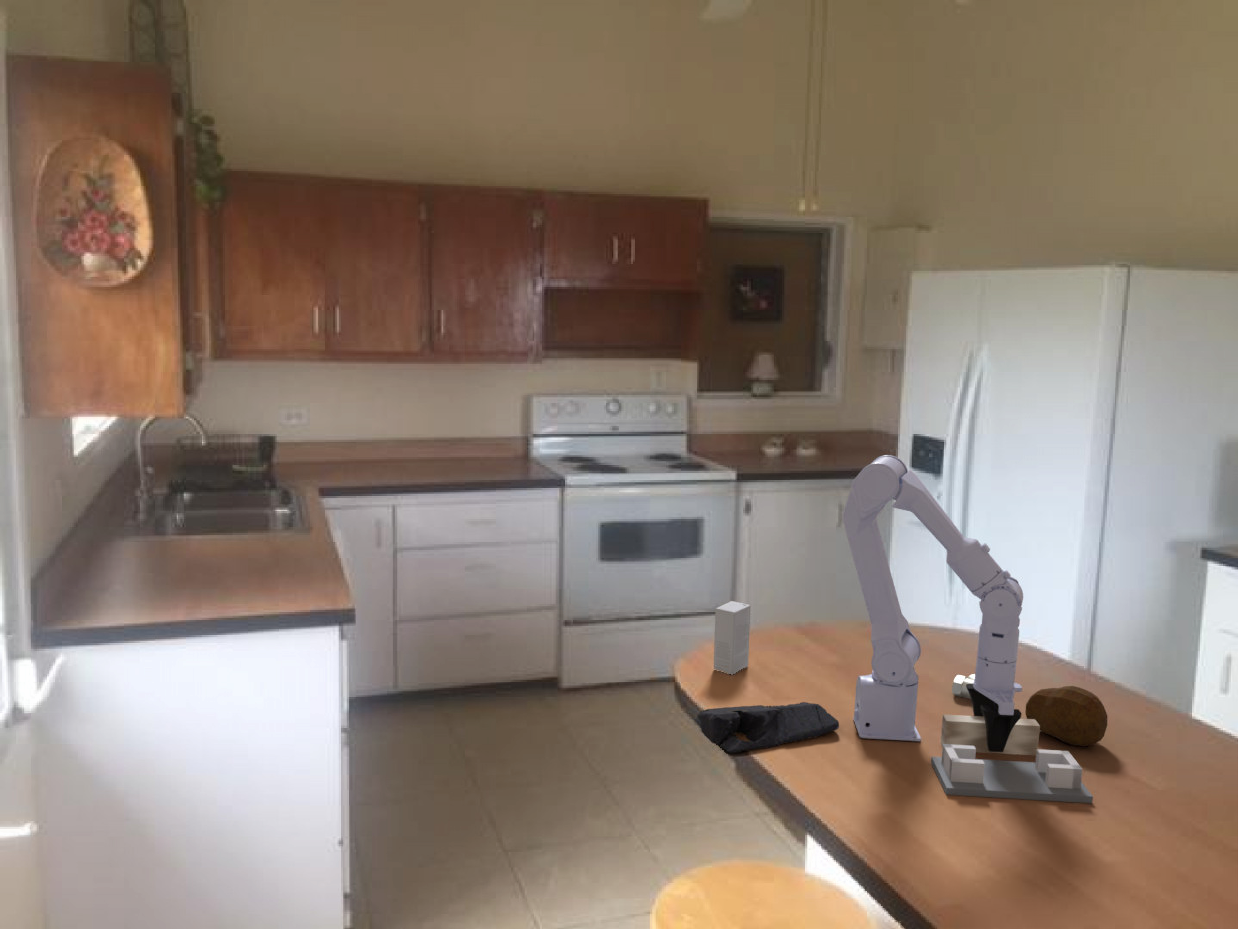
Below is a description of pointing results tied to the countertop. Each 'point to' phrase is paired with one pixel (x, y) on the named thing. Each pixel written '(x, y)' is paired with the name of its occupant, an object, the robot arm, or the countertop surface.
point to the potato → (1068, 714)
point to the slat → (974, 734)
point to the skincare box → (731, 637)
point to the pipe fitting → (962, 685)
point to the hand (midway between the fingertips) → (989, 740)
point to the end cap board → (1011, 776)
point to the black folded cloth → (764, 725)
